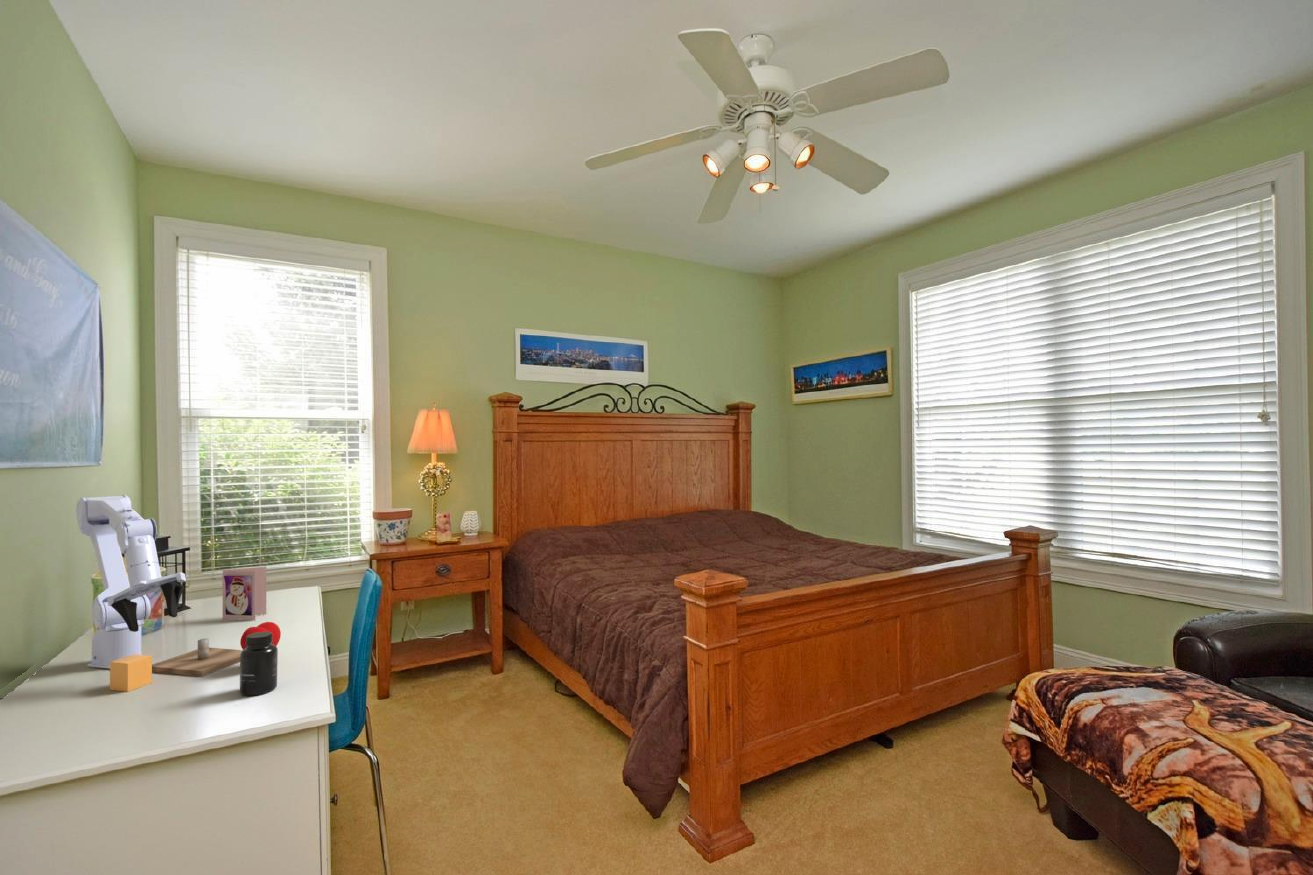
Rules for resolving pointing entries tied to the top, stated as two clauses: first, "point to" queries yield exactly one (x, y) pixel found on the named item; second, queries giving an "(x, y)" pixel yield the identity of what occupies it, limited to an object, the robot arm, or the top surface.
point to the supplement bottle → (258, 665)
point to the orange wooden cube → (130, 672)
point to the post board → (199, 660)
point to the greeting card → (244, 593)
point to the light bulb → (262, 628)
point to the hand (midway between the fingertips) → (153, 623)
